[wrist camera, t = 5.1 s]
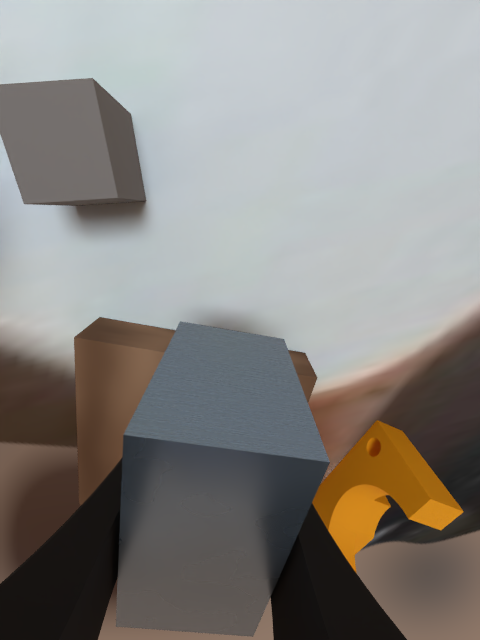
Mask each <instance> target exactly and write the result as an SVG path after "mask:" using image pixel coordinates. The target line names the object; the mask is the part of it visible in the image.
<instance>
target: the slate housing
mask: <svg viewBox="0 0 480 640" xmlns="http://www.w3.org/2000/svg"><path fill="white" fill-rule="evenodd" d="M329 463H330V462H329V459H328V456H327V454H326V451H325V448H324V446H323V443H322V440H321V437H320V435H319V432H318V429H317V427H316V424H315V421H314V419H313V416H312V413H311V411H310V408H309V405H308V402H307V400H306V397H305V394H304V392H303V389H302V386H301V384H300V381H299V378H298V376H297V373H296V370H295V367H294V365H293V362H292V359H291V357H290V354H289V351H288V349H287V346H286V343H285V341H284V339H280V338H274V337H268V336H262V335H256V334H250V333H244V332H239V331H233V330H227V329H221V328H215V327H209V326H203V325H198V324H192V323H186V322H180V323H179V325H178V327H177V329H176V331H175V333H174V335H173V337H172V339H171V341H170V343H169V345H168V347H167V349H166V351H165V353H164V355H163V357H162V359H161V361H160V363H159V365H158V367H157V369H156V371H155V373H154V375H153V377H152V379H151V381H150V383H149V385H148V387H147V389H146V391H145V393H144V395H143V397H142V399H141V401H140V403H139V405H138V407H137V409H136V411H135V413H134V415H133V417H132V419H131V421H130V423H129V425H128V427H127V429H126V431H125V433H124V435H123V456H122V482H121V507H120V533H119V559H118V584H117V585H118V586H117V610H116V627H130V628H145V629H157V630H170V631H185V632H198V633H212V634H225V635H238V636H252V637H253V635H254V633H255V631H256V629H257V626H258V624H259V622H260V620H261V617H262V615H263V613H264V610H265V608H266V606H267V604H268V601H269V599H270V597H271V595H272V592H273V590H274V588H275V585H276V583H277V581H278V579H279V576H280V574H281V572H282V570H283V567H284V565H285V563H286V560H287V558H288V556H289V554H290V551H291V549H292V547H293V545H294V542H295V540H296V538H297V535H298V533H299V531H300V529H301V526H302V524H303V522H304V520H305V517H306V515H307V513H308V510H309V508H310V506H311V504H312V501H313V499H314V497H315V495H316V492H317V490H318V488H319V485H320V483H321V481H322V479H323V476H324V474H325V472H326V470H327V467H328V465H329Z"/></svg>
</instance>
